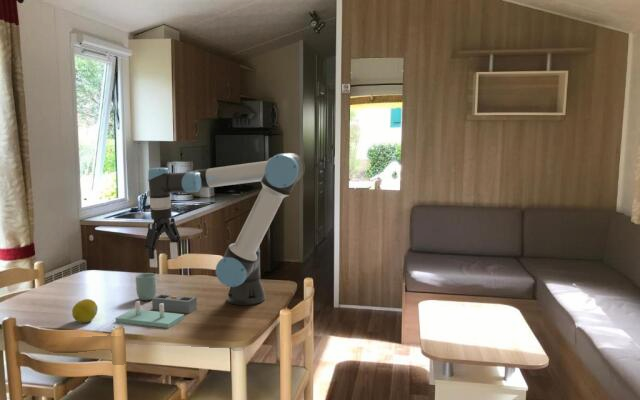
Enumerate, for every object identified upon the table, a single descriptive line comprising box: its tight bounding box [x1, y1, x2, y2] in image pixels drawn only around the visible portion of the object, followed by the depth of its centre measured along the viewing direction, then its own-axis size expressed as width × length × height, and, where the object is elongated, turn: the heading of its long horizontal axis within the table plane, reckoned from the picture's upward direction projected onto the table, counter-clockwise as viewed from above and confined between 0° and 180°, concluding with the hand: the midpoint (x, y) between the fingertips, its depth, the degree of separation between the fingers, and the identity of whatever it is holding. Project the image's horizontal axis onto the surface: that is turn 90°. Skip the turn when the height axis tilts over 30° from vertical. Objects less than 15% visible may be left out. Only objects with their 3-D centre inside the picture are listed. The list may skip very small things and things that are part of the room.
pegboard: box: [115, 300, 185, 329], centre depth 188 cm, size 22×10×6 cm, turn 73°
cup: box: [135, 272, 158, 301], centre depth 212 cm, size 8×8×10 cm
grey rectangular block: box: [151, 293, 198, 314], centre depth 200 cm, size 16×6×5 cm, turn 73°
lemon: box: [71, 298, 98, 324], centre depth 188 cm, size 11×8×8 cm
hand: (164, 262), depth 200 cm, fingers open, 13 cm apart
